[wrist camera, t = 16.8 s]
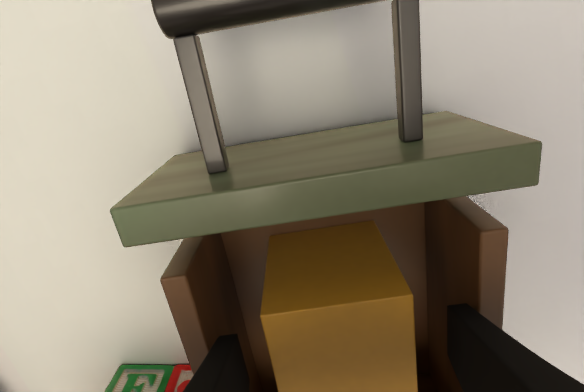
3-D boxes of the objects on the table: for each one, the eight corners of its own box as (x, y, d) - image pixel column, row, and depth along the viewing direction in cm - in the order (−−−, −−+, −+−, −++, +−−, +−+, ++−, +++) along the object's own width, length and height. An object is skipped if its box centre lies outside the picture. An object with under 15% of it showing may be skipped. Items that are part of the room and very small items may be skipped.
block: (374, 219, 15) (414, 294, 10) (381, 306, 16) (418, 406, 11) (268, 235, 15) (259, 316, 10) (286, 319, 16) (285, 422, 12)
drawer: (132, 13, 13) (20, -21, 7) (446, -46, 12) (568, -127, 7) (242, 390, 19) (224, 515, 14) (448, 364, 19) (511, 483, 13)
